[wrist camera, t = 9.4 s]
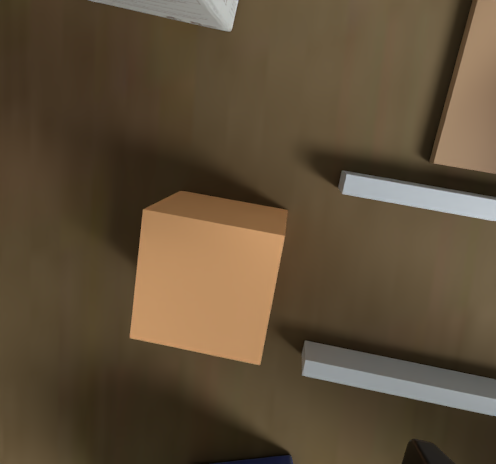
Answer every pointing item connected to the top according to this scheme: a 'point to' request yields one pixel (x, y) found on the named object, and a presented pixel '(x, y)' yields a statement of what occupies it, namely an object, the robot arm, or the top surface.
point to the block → (207, 274)
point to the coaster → (471, 97)
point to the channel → (394, 370)
